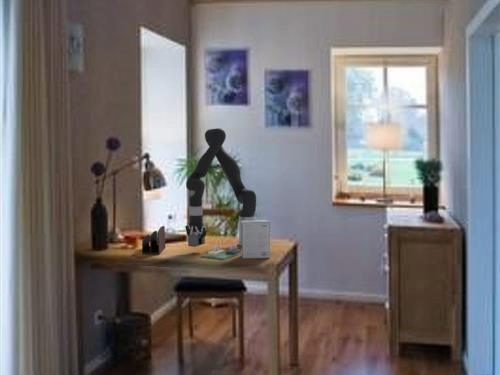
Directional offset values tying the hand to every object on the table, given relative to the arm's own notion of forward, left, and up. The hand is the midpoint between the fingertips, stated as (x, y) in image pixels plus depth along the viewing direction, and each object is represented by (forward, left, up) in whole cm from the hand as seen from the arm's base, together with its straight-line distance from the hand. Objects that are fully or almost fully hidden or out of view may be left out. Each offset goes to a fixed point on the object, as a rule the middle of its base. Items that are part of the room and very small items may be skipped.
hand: (196, 243), depth 373 cm
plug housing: (0, 0, -1) cm, 1 cm away
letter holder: (+8, -24, -6) cm, 26 cm away
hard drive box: (-8, +33, -6) cm, 35 cm away
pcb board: (-2, +16, -5) cm, 17 cm away
